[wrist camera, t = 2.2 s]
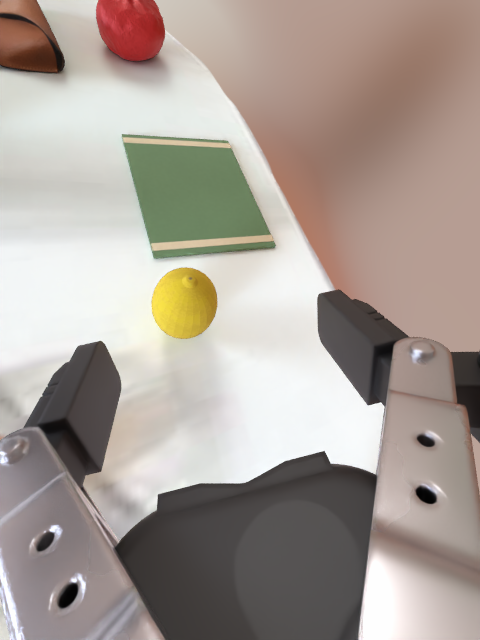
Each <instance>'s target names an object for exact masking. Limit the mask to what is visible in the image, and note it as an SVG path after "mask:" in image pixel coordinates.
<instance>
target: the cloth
mask: <svg viewBox="0 0 480 640" xmlns="http://www.w3.org/2000/svg"><path fill="white" fill-rule="evenodd" d="M122 139H123V143H124V147H125V150H126V154H127V158H128V162H129V166H130V169H131V173H132V177H133V181H134V184H135V188H136V192H137V196H138V200H139V203H140V207H141V211H142V215H143V219H144V222H145V226H146V230H147V234H148V238H149V241H150V245H151V249H152V253H153V257H154V258H164V257H175V256H186V255H197V254H208V253H219V252H230V251H241V250H252V249H263V248H274V247H275V246H276V245H275V243H274V240H273V237H272V235H271V234H270V232H269V230H268V228H267V225H266V223H265V221H264V219H263V217H262V214H261V212H260V210H259V208H258V206H257V204H256V201H255V199H254V197H253V195H252V193H251V190H250V188H249V186H248V184H247V182H246V180H245V177H244V175H243V173H242V171H241V169H240V166H239V164H238V162H237V160H236V158H235V156H234V153H233V151H232V149H231V146H230V144H229V142H228V141H222V140H206V139H190V138H174V137H158V136H142V135H126V134H122Z"/></svg>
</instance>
